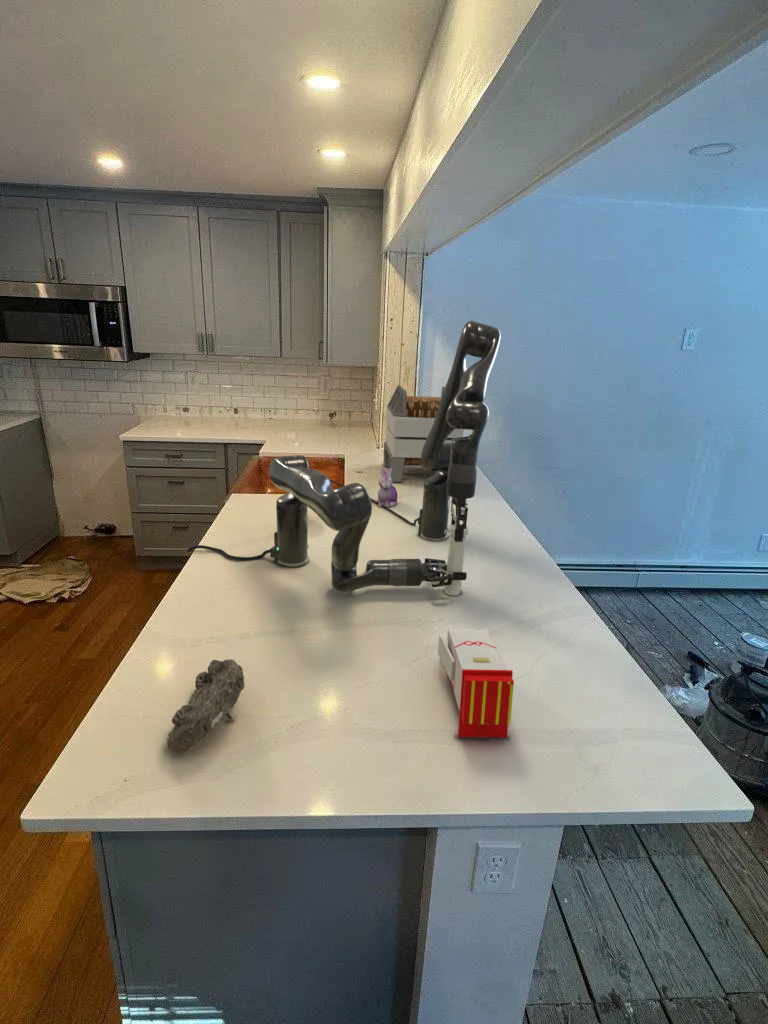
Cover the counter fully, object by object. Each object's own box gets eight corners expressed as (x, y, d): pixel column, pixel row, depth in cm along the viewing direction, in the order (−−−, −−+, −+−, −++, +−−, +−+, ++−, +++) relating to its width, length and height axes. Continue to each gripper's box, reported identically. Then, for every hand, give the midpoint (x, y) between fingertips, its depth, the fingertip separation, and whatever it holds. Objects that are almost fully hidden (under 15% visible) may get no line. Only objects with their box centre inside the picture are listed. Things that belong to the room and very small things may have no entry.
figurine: (382, 509, 223) (384, 472, 218) (371, 501, 232) (372, 465, 226) (403, 506, 227) (405, 470, 222) (391, 498, 236) (393, 463, 231)
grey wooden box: (382, 463, 289) (386, 382, 275) (445, 464, 293) (451, 384, 279) (390, 482, 257) (394, 392, 243) (460, 483, 261) (468, 394, 247)
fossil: (192, 660, 117) (244, 628, 112) (224, 691, 120) (276, 661, 115) (142, 746, 98) (202, 712, 93) (182, 779, 101) (242, 748, 96)
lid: (459, 538, 151) (460, 532, 150) (444, 532, 154) (445, 526, 154) (471, 533, 154) (472, 528, 154) (457, 528, 158) (457, 522, 157)
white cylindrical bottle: (460, 596, 158) (466, 534, 152) (444, 594, 159) (450, 533, 152) (459, 589, 162) (466, 528, 156) (444, 587, 163) (450, 527, 156)
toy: (488, 613, 130) (523, 677, 101) (484, 667, 133) (517, 744, 104) (435, 612, 130) (455, 676, 101) (432, 666, 133) (451, 743, 103)
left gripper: (408, 571, 149) (471, 571, 151) (400, 549, 162) (459, 549, 164) (406, 596, 151) (469, 596, 153) (399, 573, 165) (457, 572, 167)
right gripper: (480, 486, 142) (474, 546, 148) (472, 471, 156) (466, 526, 161) (450, 485, 142) (445, 545, 148) (444, 470, 156) (440, 525, 161)
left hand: (463, 572), depth 159 cm, fingers closed on white cylindrical bottle, 4 cm apart
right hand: (456, 535), depth 154 cm, fingers open, 7 cm apart
